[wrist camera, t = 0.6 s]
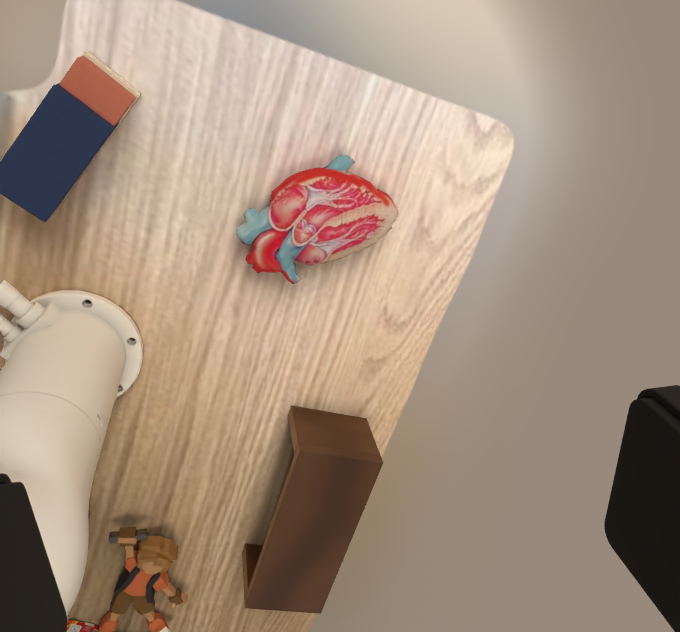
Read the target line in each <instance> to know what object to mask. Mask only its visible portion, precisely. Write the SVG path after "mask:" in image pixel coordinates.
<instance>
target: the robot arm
mask: <svg viewBox="0 0 680 632" xmlns="http://www.w3.org/2000/svg"><path fill="white" fill-rule="evenodd" d="M86 300H90V301H91V302H87V301H86ZM0 305H1V306H2V307H3V308H4V309H5V308H6V309H7V310H9V311H10V312H11V313H12V314H14V315H15V316H14V317H13V318H12V320H11V321H8V320H7V319H6V318H5V317H4V316H3V315H2V314H1V313H0V333H1V334H3V335H4V337H3V339H4V342H3V345H4V348H3V350H2V351H1V353H0V356H1V357H3V358H4V359H5V360H6V363H5V365H4V366H3V368H2V369H1V371H0V632H67V615H68V613H69V612H70V610H71V608H72V606H73V604H74V602H75V600H76V598H77V595H78V593H79V590H80V587H81V584H82V581H83V577H84V573H85V569H86V563H87V557H88V544H89V521H88V511H89V499H90V494H91V488H92V483H93V479H94V475H95V471H96V467H97V464H98V460H99V456H100V453H101V449H102V445H103V442H104V438H105V434H106V431H107V427H108V424H109V420H110V416H111V413H112V409H113V405H114V402H115V399H116V398H117V397H119V396H120V395H122V394H123V393H124V392H125V391H126V390H128V389H129V388H130V387H131V385H132V384H133V383H134V381H135V380H136V378H137V376H138V374H139V371H140V369H141V365H142V361H143V350H144V349H143V343H142V338H141V335H140V333H139V330H138V328H137V326H136V325H135V323H134V322H133V320H132V318H131V317H130V316H129V315H128V314H127V313H126V312H125V311H124V310H123V309H122V308H120V307H119V306H117V305H116V304H115V303H113V302H112V301H110V300H108V299H106V298H104V297H102V296H99V295H96V294H93V293H89V292H84V291H77V290H60V291H55V292H50V293H46V294H44V295H41V296H38V297H36V298H34V299H33V300H31V301H29V300H28V299H26V298H25V297H24V296H23V295H21V294H20V292H19V291H18V290H16V289H15V288H14V287H13V286H12V285H10V284H9V283H8V282H7V281H5V280H3V281H1V282H0ZM131 338H134V340H133V339H131ZM605 533H606V536H607V539H608V541H609V543H610V545H611V547H612V548H613V549H614V551H615V552H616V553H617V555H618V556H619V557H620V559H621V560H622V561H623V563H624V564H625V565H626V567H627V568H628V570H629V571H630V572H631V573H632V575H633V576H634V577H635V579H636V580H637V581H638V583H639V584H640V585H641V587H642V588H643V589H644V591H645V592H646V593H647V595H648V596H649V598H650V599H651V600H652V602H653V603H654V604H655V605H656V607H657V608H658V610H659V611H660V612H661V614H662V615H663V616H664V618H665V619H666V620H667V622H668V623H669V624H670V626H671V627H672V628H673V630H674V631H675V632H680V386H678V385H674V386H667V387H659V388H651V389H646V390H643V391H642V392H641V393H640V394H639V395H638V398H637V400H634V401H633V402H632V403H631V405H630V407H629V412H628V416H627V421H626V425H625V430H624V435H623V439H622V444H621V449H620V453H619V458H618V463H617V467H616V472H615V477H614V481H613V486H612V491H611V496H610V500H609V504H608V509H607V514H606V518H605Z"/></svg>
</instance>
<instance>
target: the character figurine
mask: <svg viewBox="0 0 680 632" xmlns="http://www.w3.org/2000/svg"><path fill="white" fill-rule="evenodd" d="M137 540H142V541H140V542H139V548H138V551H137V550H134V546H136V541H137ZM109 541H110V543H116V542H118V543H120V546H125V548H126V561H125V562H126V564H125V568H126V570H125V571H124V572H123V573H121V574H120V576H119V579H118V581H117V584H116V587H115V595H114V597H113V599H112V602H111V607H110V609H111V612H108V613H107V614H106V615H105V616H104V617H103V618H102V619H101V621H100V626H99V630H98V632H114V630H115V627H116V626H117V624H118V619H119V615H120V614H124V613H125V612H126V610H127V609H128V607H129V604H130V602H131V600H132V602H133V604H134V607H135V609H136V610H137V612H138V613H140V614H144V615H145V616H146V618H147V624H148V626H149V629H150V630H151V631H152V632H171V631H170V630H169V628H168V626H167V623H166V621H165V620H164V618H163V617H162V616H161V615H160V614H159V613H157V612H154V610H153V609H154V605H155V601H154V593H155V590H157V591H161V590H163V591H164V592H165V593H166V594H167V595H168V596H169V600H170V601H171V602H172V608H175V607H176V605H178V604H180V605H183V604H185V603H187V601H188V595H187V594H185V593H184V592H182V591H181V590H180V589H179V588H176V589H175V588H174V587H173V586H172V585H171V584H170V583H169V582H168V580H169V578H168V573H167V572H166V571H167V570H168V568H169V566H170V564H171V562H172V560H177V554H178V545H176V544H175V543H174V542H173V541H172V540H171V539H168V538H165V537H162V536H148V532H147V529H139V530H136V527H127V528H120V532H110V535H109Z"/></svg>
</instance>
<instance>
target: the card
mask: <svg viewBox="0 0 680 632" xmlns="http://www.w3.org/2000/svg"><path fill="white" fill-rule="evenodd" d="M98 630H99V626H96V625H94V624H91V623H88V622H85V623H84V622H80V621H76V620H69V621H68V623H67V632H98Z"/></svg>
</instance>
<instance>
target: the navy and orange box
mask: <svg viewBox="0 0 680 632" xmlns="http://www.w3.org/2000/svg"><path fill="white" fill-rule="evenodd" d="M140 95H141V93H140V92H139V91H137V90H136V89H135V88H134V87H132V86H131V85H130V84H129V83H127V82H126V81H125V80H124V79H122V78H121V77H120V76H119V75H117V74H116V73H115V72H114V71H112V70H111V69H110V68H109V67H107V66H106V65H105V64H104V63H102V62H101V61H100V60H99V59H97V58H96V57H95V56H94V55H92V54H91V53H90V52H88V51H87V52H84V54H83V55H82V56H81V57H78V58H77V59H76V61H75V62H74V63H73V65H72V66H71V68H70V69H69V71H68V72H67V74H66V75H65V76H64V78H63V79H62V81H61V82H60V83H59V84H56V85H53V86H52V88H51V89H50V91H49V92H48V94H47V95H46V97H45V98H44V100H43V101H42V102H41V104H40V105H39V107H38V108H37V110H36V111H35V113H34V114H33V116H32V117H31V118H30V120H29V121H28V123H27V124H26V126H25V127H24V129H23V130H22V132H21V133H20V134H19V136H18V137H17V139H16V140H15V142H14V143H13V145H12V146H11V148H10V149H9V150H8V152H7V153H6V155H5V156H4V158H3V159H2V161H1V162H0V194H2V195H3V196H5V197H6V198H8V199H9V200H11V201H13V202H14V203H16V204H17V205H19V206H20V207H22V208H23V209H25V210H26V211H28V212H29V213H31V214H33V215H34V216H36V217H37V218H39V219H40V220H42V221H43V222H46V221H47V220H48V219H49V217H50V216H51V215H52V214H54V212H55V211H56V210H57V209H58V207H59V206H60V205H61V203H62V202H63V200H64V199H65V198H66V196H67V195H68V194H69V192H70V191H71V189H72V188H73V187H74V185H75V184H76V183H77V181H78V180H79V179H80V177H81V176H82V174H83V173H84V172H85V170H86V169H87V168H88V166H89V165H90V163H91V162H92V161H93V159H94V158H95V157H96V155H97V154H98V152H99V151H100V150H101V148H102V147H103V146H104V144H105V143H106V141H107V140H108V139H109V137H110V136H111V135H112V133H113V132H114V130H115V129H116V128H117V126H118V125H119V124H120V122H121V121H122V119H123V118H124V117H125V115H126V114H127V113H128V111H129V110H130V109H131V107H132V106H133V104H134V103H135V102H136V100H137V99H138V98H139V96H140Z"/></svg>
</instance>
